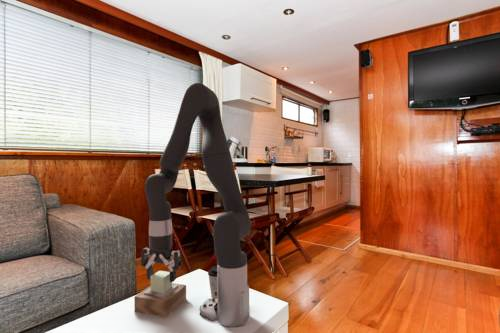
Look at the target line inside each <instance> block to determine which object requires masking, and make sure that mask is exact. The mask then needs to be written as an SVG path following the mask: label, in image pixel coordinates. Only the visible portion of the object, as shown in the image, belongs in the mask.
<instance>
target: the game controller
mask: <svg viewBox="0 0 500 333" xmlns="http://www.w3.org/2000/svg"><path fill="white" fill-rule="evenodd" d="M216 307H217V299H213V298H212V297H211V298H207V299H206V300H205V301H204V302H203V303H202V304H201V305H200V306H199V315H200V316H204V317H207V318H208V319H209V320H211V321H216V320H218V315H217V313H216V310H215V309H216ZM217 308H218V307H217Z"/></svg>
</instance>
